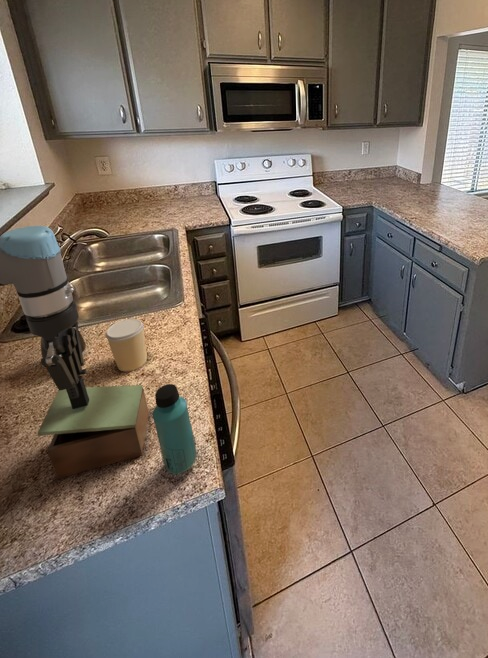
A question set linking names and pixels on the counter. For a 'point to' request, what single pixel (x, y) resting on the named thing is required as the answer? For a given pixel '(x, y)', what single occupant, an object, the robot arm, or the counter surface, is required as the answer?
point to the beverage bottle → (174, 430)
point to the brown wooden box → (98, 446)
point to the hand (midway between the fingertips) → (81, 404)
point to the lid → (94, 411)
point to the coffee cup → (127, 344)
